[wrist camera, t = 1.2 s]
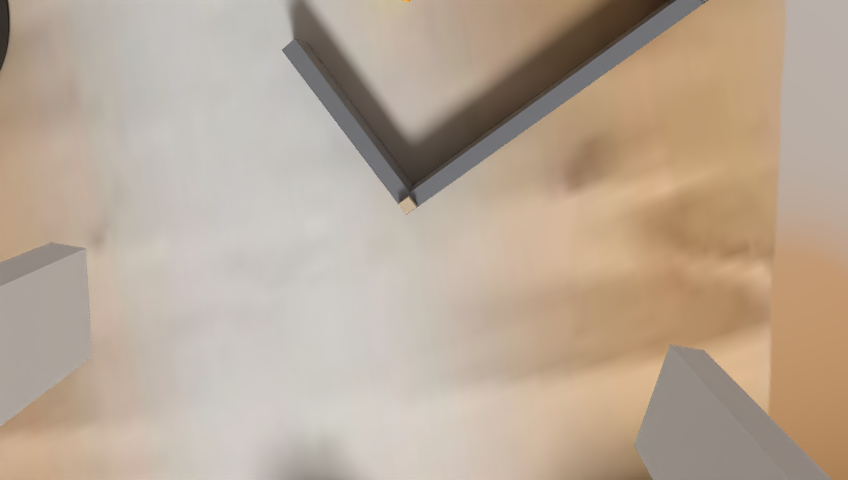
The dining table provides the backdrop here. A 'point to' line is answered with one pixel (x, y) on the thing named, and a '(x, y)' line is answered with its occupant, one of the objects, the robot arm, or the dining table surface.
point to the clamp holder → (555, 95)
